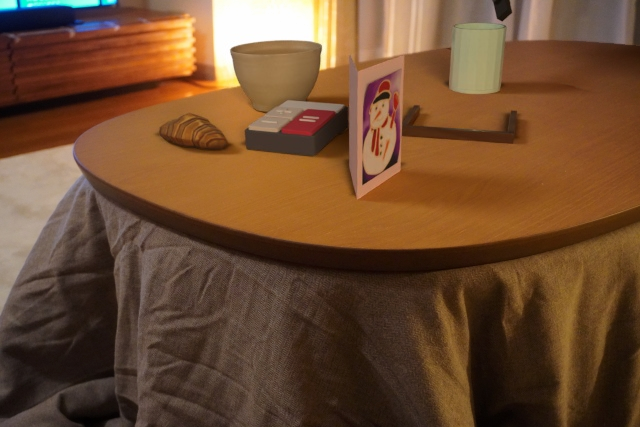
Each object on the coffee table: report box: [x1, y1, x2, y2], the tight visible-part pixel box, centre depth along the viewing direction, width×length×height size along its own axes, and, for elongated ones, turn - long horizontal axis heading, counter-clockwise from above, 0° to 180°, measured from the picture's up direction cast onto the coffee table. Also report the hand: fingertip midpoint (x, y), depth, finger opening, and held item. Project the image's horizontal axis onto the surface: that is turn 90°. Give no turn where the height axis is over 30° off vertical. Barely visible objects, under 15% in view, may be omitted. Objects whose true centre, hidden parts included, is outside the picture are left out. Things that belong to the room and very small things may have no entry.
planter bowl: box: [229, 39, 323, 113], centre depth 111 cm, size 16×16×11 cm
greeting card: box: [348, 52, 405, 201], centre depth 75 cm, size 11×7×15 cm, turn 147°
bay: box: [402, 104, 518, 144], centre depth 99 cm, size 14×17×2 cm
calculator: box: [244, 100, 349, 157], centre depth 95 cm, size 11×4×15 cm
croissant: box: [158, 112, 228, 151], centre depth 92 cm, size 14×7×5 cm, turn 54°
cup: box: [448, 22, 508, 95], centre depth 121 cm, size 10×10×12 cm
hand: (504, 15), depth 123 cm, fingers closed
